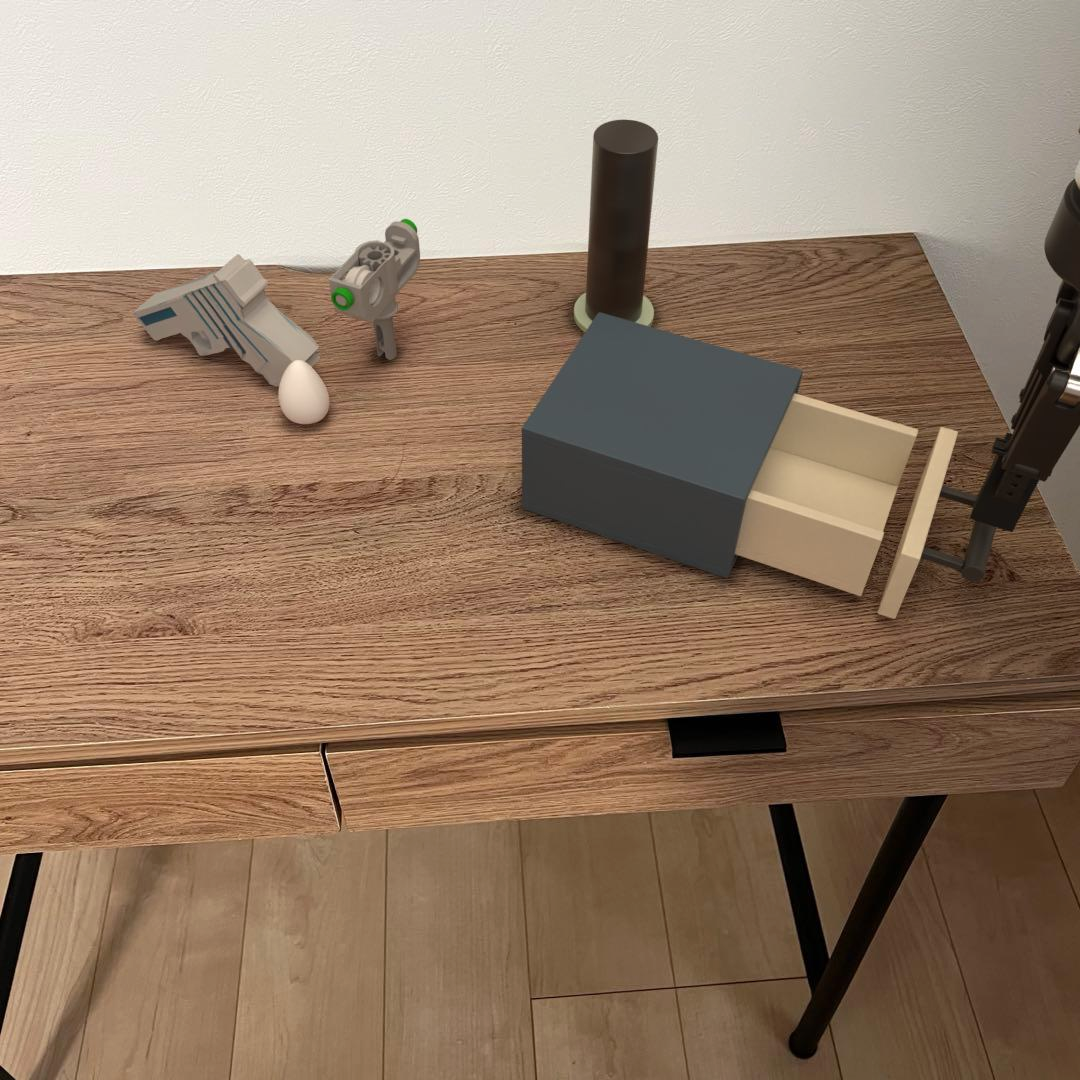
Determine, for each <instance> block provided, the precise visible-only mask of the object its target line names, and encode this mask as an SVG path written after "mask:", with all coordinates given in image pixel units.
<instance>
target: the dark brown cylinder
mask: <svg viewBox="0 0 1080 1080" xmlns="http://www.w3.org/2000/svg"><path fill="white" fill-rule="evenodd" d="M658 145H659V135H658V132H657V131H656V130H655V128H653V127H652V126H651V125H649V124H647V123H645V122H642V121H638V120H633V119H614V120H609V121H606V122H603V123H602V124H600V125H599V126H598V127H596V128H595V130H594V132H593V136H592V158H591V177H590V198H589V199H590V200H589V220H588V222H589V225H588V242H587V263H586V264H587V265H586V284H585V285H586V286H585V287H586V288H585V292H586V304H585V311H586V314H587V316H588V317H589V318H590V319H591V320H592V321H593V320H594V318H595V317H596V315H597V314H598V312H601V313H604V314H608V315H611V316H615V317H618V318H622V319H625V320H629V321H632V322H636V321H637V320H638V319H639V317H640V316H641V313H642V305H643V295H644V293H645V284H646V283H645V282H646V274H647V273H646V271H647V263H648V262H647V260H648V251H649V240H650V230H651V219H652V209H653V198H654V187H655V178H656V167H657V158H658Z"/></svg>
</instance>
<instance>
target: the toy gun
mask: <svg viewBox="0 0 1080 1080" xmlns="http://www.w3.org/2000/svg"><path fill="white" fill-rule="evenodd" d="M269 284H270V283H269V281H268V280H267V279H266V278H265V277H263V275H262V273H261V272H260V270H259V269H258V268H257V266H256V265H255V264H254V262H253V261H252V260H251V259H250V258H248V259H244V258H243V257H242V256H241V255H240V253H237V254H235V256H233V257H232V258H231V259H230V260H229V261H228V262H226V264H224V265H223V266H222V267H221V268H219V269H216V270H215V271H211V272H209V273H208V274H205V275H203V276H199V277H196V278H195V279H191V280H189V281H185V282H183V283H180V284H178V285H174V286H173V287H170V288H169V287H168V288H167V289H164V290H161V291H158V292H155V293H154V294H153V295H151V297H149V298H148V299H147V300H146V301H145V302H143V303H142V304H141V305H140V306H139V307H138V308H136V309H135V310H134V311H133V312H132V315H133V317H134V318H135V319H136V320H137V321H138V323H139V324H140V325H141V326H142V327H143V329H144V330H145V331H146V332H147V333H148V335H149V336H150V338H151V339H152V340H154V341H157V342H158V341H160V340H161V339H162V340H163V339H165V338H168V337H171V336H175V335H179V334H181V335H182V336H183V337H185V338H186V339H188V340H189V341H190V343H191V344H192V345H193V347H194V349H195V350H196V352H197V354H198V355H199V356H201V357H203V356H208V355H209V356H210V355H213V354H218V353H223V352H224V351H225V350H227V349H233V350H234V351H235V352H236V354H237V355H238V356H239V357H240V359H241V360H242V361H244V362H246V363H247V364H249V365H250V366H251V367H252V369H253V370H254V371H255V373H256V374H259V375H261V376H262V377H263V378H264V379H265V381H267V383H268V384H269V385H271V386H273V387H276V388H277V387H278V388H279V385H280V381H281V379H282V376H283V374H284V372H285V370H286V369H287V367H288V366H289V365H290V364H291V363H292V362H293V361H295V360H302V361H304V362H306V363H308V364H309V365H310V366H311V367H312V368H313V367H314V366H315V365H316V364H317V362H318V361H320V359H321V356H320V355H319V353H317V352H318V350H319V349H320V346H319V344H318V343H317V342H316V340H315V339H314V338H313V337H312V335H310V334H309V333H308V332H306V331H305V330H304V329H303V328H302V327H300V326H299V325H298V324H297V323H295V322H294V321H293V320H291V319H290V318H289V317H288V316H287V315H286V314H284V313H283V312H282V311H281V310H280V309H279V308H277V307H276V305H274V304H273V303H272V302H271V300H270V299H268V296H267V295H266V291H265V289H266V288H267V287H268V286H269Z"/></svg>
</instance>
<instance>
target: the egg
mask: <svg viewBox="0 0 1080 1080" xmlns="http://www.w3.org/2000/svg"><path fill="white" fill-rule="evenodd" d="M277 394H278V395H277V396H278V403H279V407H280V409H281V411H282V413H283V415H284V416H285V417H286V418H287V419H288V420H289V421H291V422H293V423H295V424H299V425H310V424H315V423H319V422H320V421H322V420H323V419H324V418H325V417H326V415H328V412H329V410H330V406H331V405H330V404H331V403H330V394H329V391H328V389H327V387H326V384H325V382H324V381H323V380H322V378H321V376H320V375H319V373H318V372H317V371H316V370H315V368H313V366H312V367H311V366H310V365H309V364H308V363H306V362H304V361H302V360H295V361H293V362H292V363H291V364H290V365H289V366H288V367H287V369H286V370H285V372H284V374H283V376H282V379H281V381H280V385H279V386H278V393H277Z"/></svg>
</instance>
